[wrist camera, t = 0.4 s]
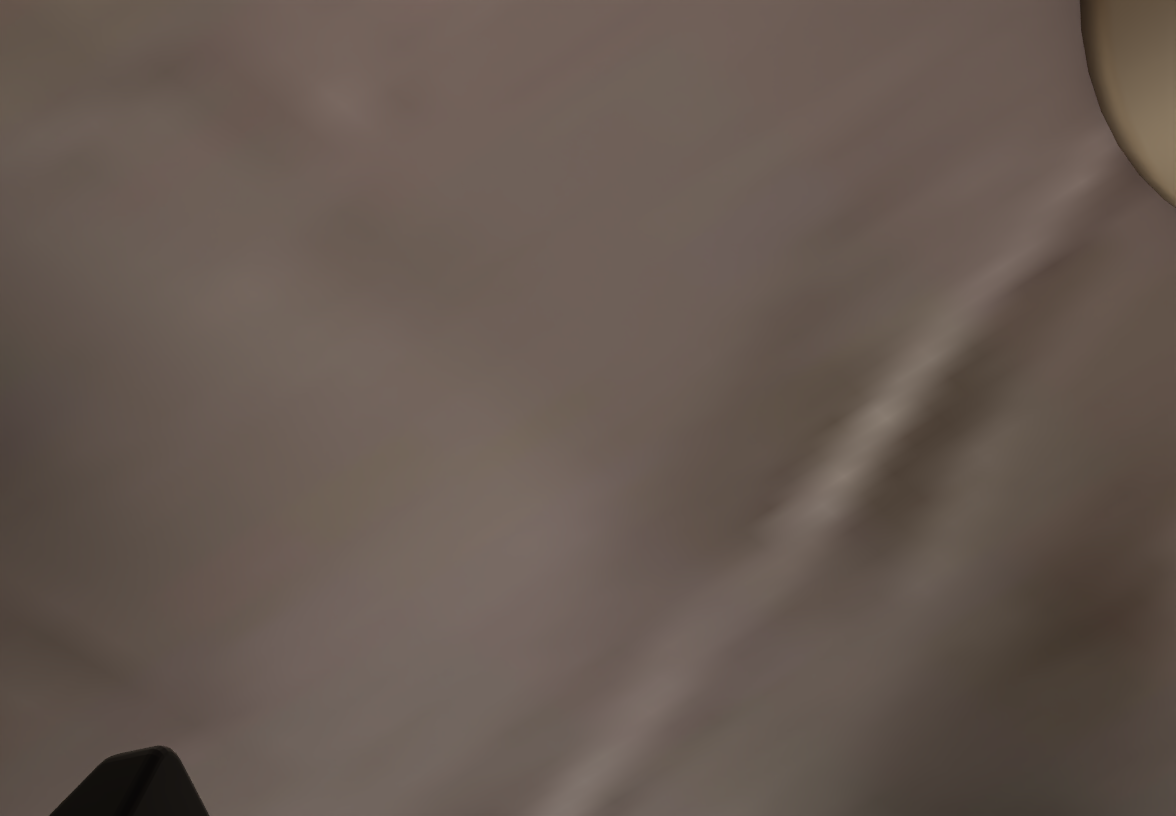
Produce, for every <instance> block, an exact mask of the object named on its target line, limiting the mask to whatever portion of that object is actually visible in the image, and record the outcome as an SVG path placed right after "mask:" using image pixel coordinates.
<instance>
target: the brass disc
mask: <svg viewBox="0 0 1176 816" xmlns="http://www.w3.org/2000/svg"><path fill="white" fill-rule="evenodd" d="M1080 8H1081V31H1082V37H1083V43H1084V48H1085V54H1086V60H1087V65H1088V71H1089V75H1090V78H1091V81H1092V84H1093V87H1094V90H1095V93H1096V97H1097V100H1098V103H1099V106H1100V109H1101V112H1102V114H1103V116H1104V118H1105V120H1106V122H1107V124H1108V126H1109V128H1110V130H1111V132H1112V134H1113V136H1114V138H1115V140H1116V142H1117V144H1118V145H1119V147H1120V148H1121V150H1122V151H1123V152H1124V154H1125V155H1126V157H1127V158H1128V159H1129V161H1130V162H1131V164H1132V165H1133V166H1134V168H1135V169H1136V171H1137V172H1138V173H1139V175H1140V176H1141V177H1142V178H1143V179H1144V180H1145V181H1146V182H1147V183H1148V184H1149V185H1150V186H1151V187H1152V188H1153V189H1154V190H1155V191H1156V192H1157V193H1158V194H1159V195H1160V196H1161V197H1162V198H1163V199H1164V200H1165V201H1167V202H1168V203H1170V204H1171V205H1172V206H1174V207H1175V208H1176V0H1080Z"/></svg>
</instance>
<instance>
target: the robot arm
mask: <svg viewBox="0 0 1176 816" xmlns="http://www.w3.org/2000/svg"><path fill="white" fill-rule="evenodd" d="M49 816H209V814H208V812H207V810H206V808H205V806H204V804H203V802H202V800H201V799H200V797H199V795H198V793H197V791H196V789H195V787H194V785H193V783H192V781H191V779H190V777H189V775H188V773H187V772H186V770H185V768H184V766H183V764H182V762H181V760H180V759H179V757H178V756H177V754H176V753H175V752H174V751H173V750H172V749H170V748H168V747H165V746H154V747H149V748H144V749H139V750H134V751H129V752H125V753H120V754H116V755H114V756H111V757H109V758H107V759H105V760H104V761H103V762H102V763H101V764H100V765H98V766H97V767H96V768H95V769H94V770H93V771H92V772H91V773H90V774H89V775H88V776H87V777H86V779H85V780H84V781H83V782H82V783H81V784H80V785H79V786H78V787H77V788H76V789H75V790H74V791H73V792H72V793H71V794H70V795H69V796H68V797H67V798H66V799H65V800H64V801H63V802H62V803H61V804H60V805H59V806H58V807H57V808H56V809H55V810H54V811H53V812H52V813H51V814H50V815H49Z"/></svg>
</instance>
